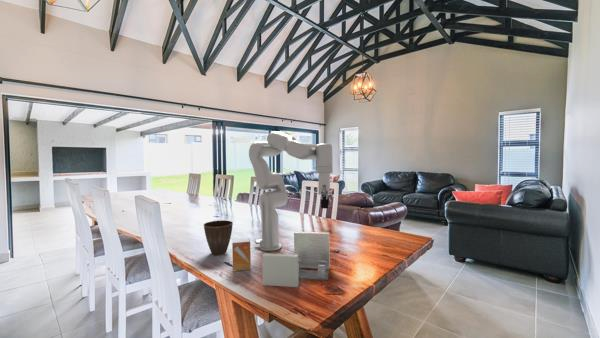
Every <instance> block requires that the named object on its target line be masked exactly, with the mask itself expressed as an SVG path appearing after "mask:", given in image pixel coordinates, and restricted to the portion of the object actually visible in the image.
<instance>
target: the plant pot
mask: <svg viewBox="0 0 600 338" xmlns="http://www.w3.org/2000/svg"><path fill="white" fill-rule="evenodd" d="M203 228H204V235H205V239H206V242H207V244H208V248H209V251H210V253H211V254H212V256H213V255H214V256H222V255H225V254H226V253H227V250H228V248H229V245H230V241H231V238H232V237H231V236H232V232H233V231H232V230H233V221H231V220H213V221H212V220H211V221H209V222H205V223H204V224H203Z"/></svg>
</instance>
